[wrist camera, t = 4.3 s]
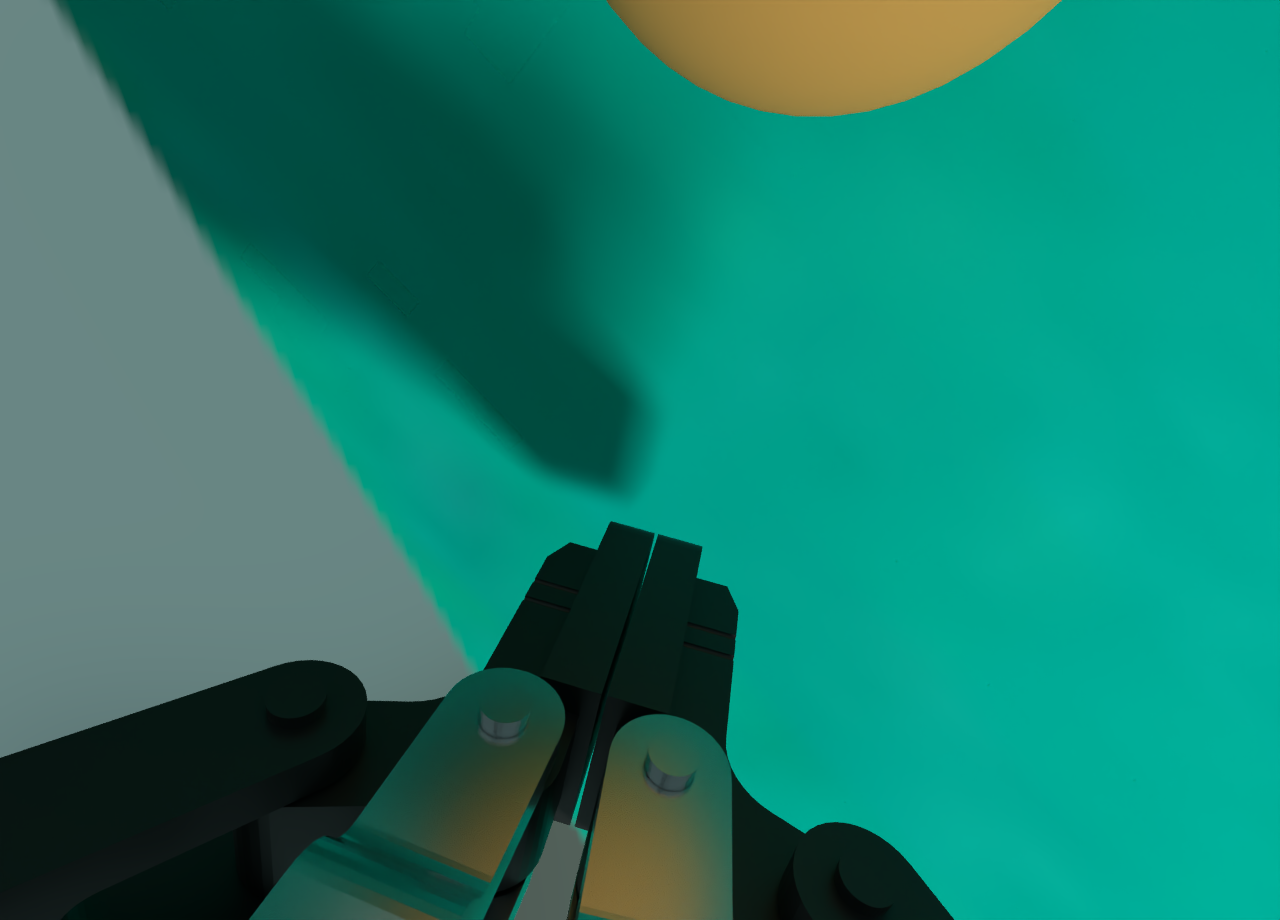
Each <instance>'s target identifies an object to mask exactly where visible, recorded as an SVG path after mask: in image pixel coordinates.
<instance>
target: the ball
mask: <svg viewBox="0 0 1280 920" xmlns="http://www.w3.org/2000/svg"><path fill="white" fill-rule="evenodd" d="M1060 1H1061V0H607V2H608V3H609V5H610V6H611V8H612V9H613V10H614V11H615V12H616V13H617V15H618V16H619V17H620V18H621V19H622V21H623V22H624V23H625V24H626V25H627V26H628V28H629V29H630V30H631V31H632V32H633V33H634V35H635V36H636V37H637V38H638V39H639V41H640V42H641V43H642V44H643V45H645V46H646V47H647V48H648V49H649V50H650V51H651V52H652V53H653V54H655V55H656V56H657V57H658V58H659V59H660V60H661V61H662V62H663V63H665V64H666V65H667V66H668V67H669V68H671V69H672V70H674V71H675V72H677V73H678V74H680V75H681V76H683V77H684V78H686V79H687V80H689V81H690V82H692V83H693V84H695V85H696V86H698V87H700V88H702V89H704V90H707V91H709V92H711V93H713V94H715V95H717V96H719V97H721V98H723V99H725V100H727V101H730V102H734V103H737V104H740V105H743V106H747V107H750V108H753V109H757V110H760V111H765V112H772V113H779V114H785V115H792V116H836V115H844V114H851V113H858V112H866V111H870V110H874V109H878V108H881V107H885V106H888V105H892V104H896V103H899V102H903V101H906V100H909V99H911V98H913V97H916V96H918V95H921V94H923V93H925V92H928V91H930V90H933V89H935V88H937V87H940V86H942V85H944V84H946V83H948V82H949V81H951V80H953V79H955V78H957V77H958V76H960V75H962V74H964V73H965V72H967V71H969V70H971V69H972V68H974V67H976V66H978V65H980V64H981V63H983V62H984V61H986V60H987V59H989V58H990V57H992V56H993V55H994V54H996V53H997V52H999V51H1000V50H1001V49H1003V48H1004V47H1005V46H1007V45H1008V44H1010V43H1011V42H1012V41H1014V40H1015V39H1017V38H1018V37H1019V36H1021V35H1022V34H1023V33H1025V32H1026V31H1028V30H1029V29H1030V28H1031V27H1032V26H1033V25H1034V24H1036V23H1037V22H1038V21H1039V20H1040V19H1041V18H1042V17H1043V16H1044V15H1046V14H1047V13H1048V12H1049V11H1050V10H1051V9H1052V8H1053V7H1054V6H1056V5H1057V4H1058V3H1059V2H1060Z"/></svg>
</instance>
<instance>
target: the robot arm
mask: <svg viewBox="0 0 1280 920" xmlns="http://www.w3.org/2000/svg"><path fill="white" fill-rule="evenodd" d="M654 534H655V533H652V532H648V531H644V530H641V529H637V528H634V527H630V526H627V525H623V524H619V523H616V522H612V521H611V522H610V523H609V525H608V528H607V530H606V532H605V534H604V537H603V539H602V541H601V543H600V545H599V548H598V550H595V549H592V548H588V547H585V546H581V545H578V544H574V543H571V542H570V543H568V544H567V545H565V546H563V547H562V548H560V549H559V550H557V551H556V552H554V553H552V554H551V555H549V556H548V557H547V558H546V560H545V562H544V563H543V565H542V567H541V569H540V570H539V572H538V574H537V576H536V578H535V581H534V582H533V583H532V585H531V586H530V588H529V590H528V592H527V594H526V595H525V599H524V600H523V601H522V602H521V604H520V606H519V608H518V610H517V611H516V613H515V615H514V617H513V619H512V620H511V622H510V624H509V626H508V627H507V629H506V631H505V633H504V635H503V636H502V638H501V640H500V642H499V643H498V645H497V647H496V649H495V651H494V652H493V654H492V656H491V658H490V659H489V661H488V663H487V665H486V667H485V668H484V670H482V671H479V672H476V673H474V674H471V675H469V676H467V677H466V678H464V679H462V680H461V681H460V682H458V683H457V684H456V685H455V686H454V687H453V688H452V689H451V690H450V691H449V693H448V694H447V695H446V696H445V697H442V698H438V699H435V700H427V701H415V702H401V701H400V702H398V701H367V696H366V690H365V688H364V686H363V684H362V682H361V681H360V680H359V678H358V677H357V676H356V675H355V674H353V673H352V672H351V671H349V670H348V669H346V668H344V667H342V666H339V665H337V664H334V663H330V662H324V661H316V660H305V661H295V662H288V663H284V664H281V665H277V666H274V667H271V668H268V669H265V670H262V671H259V672H256V673H253V674H250V675H247V676H244V677H241V678H238V679H235V680H232V681H229V682H226V683H223V684H220V685H217V686H214V687H211V688H208V689H205V690H202V691H199V692H196V693H193V694H190V695H187V696H184V697H181V698H178V699H175V700H172V701H169V702H166V703H163V704H160V705H157V706H154V707H151V708H148V709H145V710H142V711H139V712H136V713H133V714H130V715H127V716H124V717H122V718H119V719H115V720H112V721H110V722H106V723H103V724H100V725H98V726H94V727H92V728H88V729H85V730H83V731H79V732H77V733H74V734H70V735H68V736H64V737H61V738H59V739H56V740H52V741H49V742H46V743H44V744H40V745H38V746H35V747H31V748H29V749H26V750H23V751H20V752H17V753H14V754H11V755H8V756H5V757H2V758H0V920H514V918H515V916H516V914H517V911H518V909H519V907H520V904H521V902H522V900H523V897H524V895H525V892H526V890H527V888H528V885H529V883H530V880H531V877H532V874H533V869H534V868H535V866H536V865H537V864H538V862H539V859H540V857H541V855H542V852H543V849H544V846H545V843H546V840H547V837H548V834H549V831H550V828H551V825H552V823H553V820H554V821H557V822H561V823H564V824H567V825H570V823H571V820H572V816H573V813H574V810H575V807H576V804H577V800H578V797H579V794H580V791H581V787H582V784H583V781H584V778H585V775H586V771H587V768H588V765H589V762H590V759H591V755H592V752H593V755H592V759H591V763H590V768H589V772H588V776H587V780H586V784H585V788H584V792H583V796H582V800H581V804H580V808H579V812H578V816H577V820H576V824H575V827H578V828H581V829H584V830H587V831H588V833H587V837H586V841H585V845H584V849H583V852H582V856H581V860H580V864H579V869H578V872H577V876H576V879H575V884H574V887H573V891H572V895H571V899H570V904H569V910H568V914H567V919H566V920H954V919H953V917H952V916H951V915H950V914H949V912H948V911H947V910H946V909H945V907H944V906H943V905H942V904H941V902H940V901H939V900H938V899H937V897H936V896H935V895H934V894H933V892H932V891H931V890H930V889H929V887H928V886H927V885H926V884H925V882H924V881H923V880H922V879H921V877H920V876H919V875H918V874H917V872H916V871H915V870H914V869H913V867H912V866H911V865H910V864H909V862H908V861H907V860H906V859H905V858H904V857H903V856H902V855H901V854H900V853H899V852H898V851H897V850H896V849H895V848H894V847H893V846H892V845H890V844H889V843H888V842H886V841H885V840H884V839H882V838H881V837H879V836H877V835H876V834H874V833H872V832H870V831H868V830H866V829H864V828H861V827H859V826H855V825H851V824H848V823H839V822H832V823H824V824H821V825H817V826H815V827H814V828H812V829H810V830H809V831H808V832H807V833H803V832H801V831H800V830H798V829H797V828H795V827H793V826H792V825H790V824H789V823H787V822H786V821H784V820H782V819H781V818H779V817H778V816H776V815H775V814H773V813H771V812H770V811H769V810H767V809H766V808H764V807H763V806H762V805H760V804H759V803H758V802H757V801H756V800H755V799H754V798H753V797H751V796H750V794H749V793H748V792H747V791H746V790H745V789H744V788H743V786H742V785H741V783H740V782H739V781H738V779H737V778H736V776H735V774H734V772H733V770H732V768H731V766H730V763H729V760H728V757H727V751H726V734H727V724H728V713H729V703H730V693H731V682H732V672H733V662H734V661H733V658H734V652H735V641H736V640H735V637H736V631H737V621H738V609H737V607H736V605H735V603H734V600H733V598H732V596H731V594H730V592H729V589H728V587H727V586H723V585H720V584H716V583H713V582H709V581H706V580H702V579H699V578H696V577H697V572H698V567H699V562H700V557H701V552H702V546H699V545H695V544H692V543H688V542H685V541H681V540H677V539H674V538H670V537H667V536H663V535H659V534H658V537H657V540H656V543H655V546H654V550H653V553H652V556H651V559H650V562H649V565H648V569H647V572H646V575H645V571H646V567H647V563H648V559H649V555H650V551H651V547H652V543H653V539H654ZM644 575H645V578H644ZM643 579H644V581H643ZM642 583H643V584H642ZM641 587H642V588H641ZM595 742H596V743H595ZM594 746H595V747H594ZM593 749H594V751H593Z"/></svg>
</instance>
